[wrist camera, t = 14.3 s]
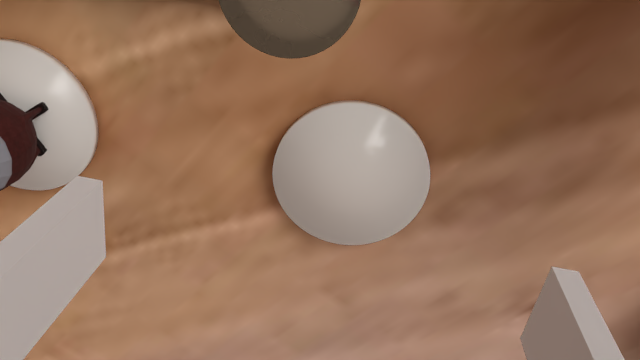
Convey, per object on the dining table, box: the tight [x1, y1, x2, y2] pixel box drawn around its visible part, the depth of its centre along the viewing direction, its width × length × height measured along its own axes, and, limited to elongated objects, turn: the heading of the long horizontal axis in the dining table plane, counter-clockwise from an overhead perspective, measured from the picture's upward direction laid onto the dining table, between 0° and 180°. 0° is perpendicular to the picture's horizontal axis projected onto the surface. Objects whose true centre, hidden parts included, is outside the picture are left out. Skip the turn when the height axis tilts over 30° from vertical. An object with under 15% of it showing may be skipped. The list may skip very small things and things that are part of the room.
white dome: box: [272, 100, 430, 245], centre depth 45 cm, size 13×13×2 cm
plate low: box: [0, 39, 99, 190], centre depth 45 cm, size 13×13×2 cm
